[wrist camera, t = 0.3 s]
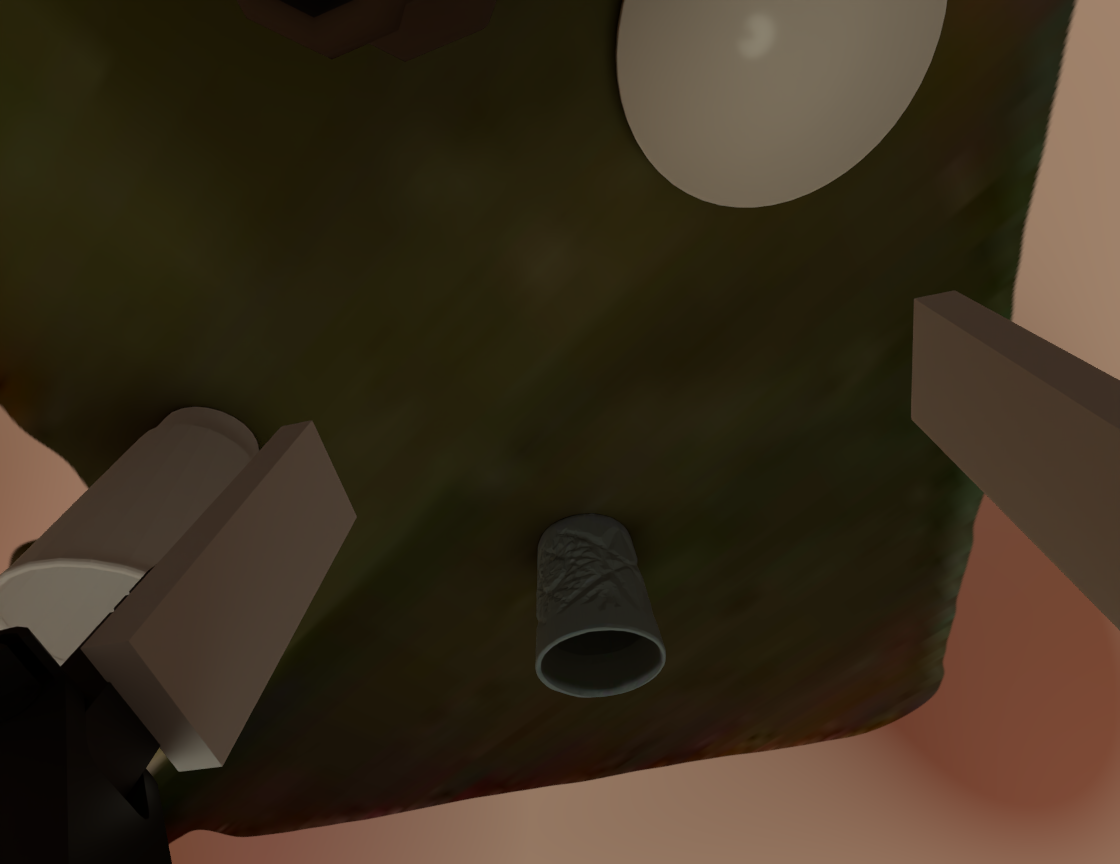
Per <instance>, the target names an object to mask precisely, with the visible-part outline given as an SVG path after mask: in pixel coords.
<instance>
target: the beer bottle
mask: <svg viewBox="0 0 1120 864" xmlns="http://www.w3.org/2000/svg"><path fill="white" fill-rule="evenodd" d="M496 1H497V0H237V2H238V3H239V5H240V7H241V9H242V11H243V12H244V14H245V16H246V18H248V19H250V20H252V21H254V22H256V23H258V24H260V25H262V26H264V27H266V28H268V29H270V30H272V31H274V32H277V33H279V34H281V35H283V36H285V37H287V38H289V39H291V40H293V41H295V42H297V43H299V44H301V45H303V46H305V47H307V48H310V49H312V50H314V51H316V52H318V53H320V54H322V55H324V56H326V57H328V58H330V59H333V58H336V57H338V56H340V55H343V54H345V53H347V52H350V51H352V50H354V49H357V48H359V47H361V46H364V45H366V44H368V43H369V44H371V45H373V46H375V47H377V48H379V49H381V50H383V51H385V52H387V53H389V54H391V55H393V56H395V57H397V58H399V59H401V60H403V61H405V62H406V61H408V60H410V59H413V58H415V57H418V56H420V55H422V54H425V53H427V52H430V51H432V50H434V49H437V48H439V47H441V46H444V45H446V44H449V43H451V42H453V41H456V40H458V39H460V38H463V37H465V36H468V35H470V34H472V33H475V32H477V31H479V30H482V29H484V28H485V27H486V26H487V25H488V23H489V21H490V18H491V15H492V12H493V9H494V7H495V4H496Z"/></svg>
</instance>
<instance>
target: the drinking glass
mask: <svg viewBox="0 0 1120 864" xmlns="http://www.w3.org/2000/svg"><path fill="white" fill-rule="evenodd" d="M537 569H538V574H537V614H536V616H537V618H538V621H539V623H538V626H537V630H536V631H537V639H536V664H535V668H536V673H537V675H538V677H539V679H540V680H541V681H542V682H543V683H544V684H545V685H546V686H548V687H549V688H551V689H553V690H555V691H559V692H562V693H565V694H568V695H572V696H577V697H603V696H610V695H617V694H620V693H624V692H627V691H630V690H633V689H635V688H638V687H640V686H642V685H644V684H645V683H647V682H649V681H650V680H651V679H653V678H654V677H655V676H656V675H657V674H658V673H659V672H660V671H661V669H662V667H663V666H664V664H665V658H666V652H665V647H664V644H663V641H662V638H661V635H660V632H659V629H658V626H657V623H656V621H655V618H654V616H653V613H652V609H651V604H650V601H649V598H648V594H647V591H646V588H645V585H644V580H643V578H642V575H641V573H640V571H639V569H638V567H637V556H636V553H635V550H634V547H633V543H632V540H631V537H630V535H629V533H628V531H627V529H626V528H625V527H624V526H623V525H622V524H621V523H620V522H618V521H616V520H615V519H613V518H611V517H607V516H603V515H596V514H594V513H593V514H582V515H575V516H571V517H567V518H564V519H563V520H560V521H558V522H557V523H554V524H553V525H551V526H550V527H549V528H547V529H546V531H545V532H544V533H543V535H542V536H541V539H540V541H539V545H538V556H537Z"/></svg>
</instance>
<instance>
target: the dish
mask: <svg viewBox="0 0 1120 864" xmlns="http://www.w3.org/2000/svg"><path fill="white" fill-rule="evenodd" d="M946 4H947V0H622V3H621V9H620V14H619V20H618V25H617V35H616V50H615V58H616V77H617V83H618V89H619V95H620V100H621V103H622V106H623V110H624V113H625V117H626V119H627V121H628V124H629V126H630V128H631V130H632V133H633V135H634V137H635V139H636V141H637V143H638V144H639V146H640V148H641V149H642V151H643V152H644V154H645V156H646V157H647V159H648V160H649V161H650V162H651V163H652V164H653V166H654V167H655V168H656V169H657V170H658V172H659V173H661V174H662V175H663V176H664V177H665V178H666V179H667V180H669V181H670V182H671V183H672V184H673V185H675V186H676V187H678V188H680V189H681V190H683V191H684V192H686V193H688V194H690V195H692V196H694V197H696V198H699V199H701V200H703V201H707V202H710V203H714V204H717V205H723V206H730V207H761V206H769V205H775V204H779V203H782V202H786V201H790V200H793V199H796V198H798V197H801V196H804V195H806V194H809V193H811V192H813V191H815V190H817V189H819V188H821V187H823V186H825V185H827V184H828V183H830V182H831V181H833V180H835V179H836V178H838V177H839V176H841V175H842V174H844V173H845V172H847V171H848V170H849V169H850V168H852V167H853V166H854V165H855V164H857V163H858V162H859V161H860V160H862V159H863V158H864V157H865V156H866V155H867V154H868V153H869V152H870V151H871V150H872V149H873V148H874V147H875V146H876V145H877V144H878V143H879V142H880V141H881V140H882V139H883V138H884V136H885V135H886V134H887V133H888V132H889V131H890V129H891V128H892V127H893V126H894V125H895V123H896V122H897V121H898V119H899V118H900V116H901V115H902V113H903V112H904V111H905V109H906V108H907V106H908V105H909V103H910V101H911V100H912V98H913V96H914V95H915V93H916V91H917V89H918V88H919V86H920V84H921V82H922V80H923V78H924V76H925V73H926V71H927V69H928V67H929V65H930V63H931V60H932V57H933V54H934V52H935V49H936V46H937V43H938V40H939V37H940V33H941V29H942V25H943V20H944V16H945V12H946Z"/></svg>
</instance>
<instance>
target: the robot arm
mask: <svg viewBox="0 0 1120 864" xmlns="http://www.w3.org/2000/svg"><path fill="white" fill-rule="evenodd" d="M911 419H912V420H913V421H914V422H915V423H916V424H917V425H918V426H919V427H920V428H921V429H922V430H923V431H924V432H925V433H926V434H927V435H928V436H929V437H930V438H931V439H932V440H933V441H934V442H935V443H936V444H937V445H938V446H939V447H940V448H941V449H942V451H943V452H944V453H945V454H946V455H947V456H948V457H949V458H950V459H951V460H952V461H953V462H954V463H955V464H956V465H957V466H958V467H959V468H960V469H961V470H962V471H963V472H964V473H965V474H966V475H967V476H968V477H969V478H970V479H971V480H972V481H973V482H974V483H975V484H976V485H977V486H978V487H979V488H980V489H981V490H982V491H983V492H984V493H985V494H986V495H987V496H988V497H989V498H990V499H991V500H992V501H993V502H994V503H995V504H996V505H997V506H998V507H999V508H1000V509H1001V510H1002V511H1003V512H1004V513H1005V514H1006V515H1007V516H1008V517H1009V518H1010V519H1011V520H1012V521H1013V522H1014V523H1015V525H1017V527H1018V528H1019V529H1020V530H1021V531H1023V533H1024V534H1025V535H1026V536H1027V537H1028V538H1029V539H1030V540H1031V541H1032V542H1033V543H1034V544H1035V545H1036V546H1037V547H1038V548H1039V549H1040V550H1041V551H1042V552H1043V553H1044V554H1045V555H1046V556H1047V557H1048V558H1049V559H1050V560H1051V561H1052V562H1053V563H1054V564H1055V565H1056V566H1057V567H1058V568H1059V569H1060V570H1061V571H1062V572H1063V573H1064V574H1065V575H1066V576H1067V577H1068V578H1069V579H1070V580H1071V581H1072V582H1073V583H1074V584H1075V585H1076V586H1077V587H1078V588H1079V589H1080V590H1081V591H1082V593H1084V595H1085V596H1087V598H1088V599H1089V600H1090V601H1091V602H1092V603H1093V604H1094V605H1095V606H1096V607H1097V608H1098V609H1099V610H1101V612H1102V613H1103V614H1104V615H1105V616H1106V617H1107V618H1108V619H1109V620H1110V621H1111V622H1112V623H1113V624H1114V625H1115V626H1116V627H1117V628H1118V629H1119V630H1120V380H1118V379H1116V378H1114V377H1112V376H1110V375H1109V374H1107V373H1105V372H1103V371H1101V370H1099V369H1098V368H1096V367H1094V366H1092V365H1090V364H1088V363H1087V362H1085V361H1083V360H1081V359H1079V358H1077V357H1076V356H1074V355H1072V354H1070V353H1068V352H1066V351H1065V350H1063V349H1061V348H1059V347H1057V346H1055V345H1054V344H1052V343H1050V342H1048V341H1046V340H1044V339H1042V338H1041V337H1039V336H1037V335H1035V334H1033V333H1032V332H1030V331H1028V330H1026V329H1024V328H1022V327H1021V326H1019V325H1017V324H1015V323H1013V322H1011V321H1010V320H1008V319H1006V318H1004V317H1002V316H1000V315H999V314H997V313H995V312H993V311H991V310H989V309H988V308H986V307H984V306H982V305H980V304H979V303H977V302H975V301H973V300H971V299H969V298H968V297H966V296H964V295H962V294H960V293H958V292H957V291H950V292H945V293H940V294H935V295H930V296H925V297H920V298H915V299H914V324H913V363H912V402H911ZM356 517H357V516H356V514H355V512H354V510H353V508H352V506H351V503H350V501H349V499H348V497H347V495H346V493H345V490H344V488H343V486H342V484H341V482H340V480H339V477H338V475H337V473H336V471H335V469H334V467H333V465H332V462H331V460H330V458H329V456H328V454H327V452H326V449H325V447H324V445H323V443H322V441H321V439H320V436H319V434H318V432H317V430H316V428H315V426H314V424H313V421H312V420H311V421H306V422H301V423H296V424H291V425H286V426H282V427H281V428H280V429H279V430H278V431H277V432H276V433H275V434H274V435H273V436H272V438H271V439H270V440H269V441H268V442H267V443H266V444H265V445H264V446H263V447H262V449H261V450H260V451H259V452H258V453H257V454H256V455H255V456H254V457H253V458H252V460H251V461H250V462H249V463H248V464H247V465H246V466H245V467H244V468H243V470H242V471H241V472H240V473H239V474H238V475H237V476H236V477H235V478H234V479H233V481H232V482H231V483H230V484H229V485H228V486H227V487H226V488H225V489H224V490H223V492H222V493H221V494H220V495H219V496H218V497H217V498H216V499H215V500H214V501H213V503H212V504H211V505H210V506H209V507H208V508H207V509H206V510H205V511H204V513H203V514H202V515H201V516H200V517H199V518H198V519H197V520H196V521H195V522H194V524H193V525H192V526H191V527H190V528H189V529H188V530H187V531H186V532H185V533H184V535H183V536H182V537H181V538H180V539H179V540H178V541H177V542H176V543H175V544H174V546H173V547H172V548H171V549H170V550H169V551H168V552H167V553H166V554H165V556H164V557H163V558H162V559H161V560H160V561H159V562H158V563H157V564H156V565H155V566H154V567H152V568H151V569H150V570H148V571H147V572H146V573H145V574H144V576H143V577H142V578H141V579H140V580H139V581H138V582H137V583H136V584H135V585H134V586H133V588H132V589H131V590H130V591H129V595H125V596H124V597H123V599H122V600H121V601H120V602H119V603H118V604H117V605H116V606H115V607H114V612H110V613H109V614H108V615H107V616H106V617H105V618H104V619H103V620H102V622H101V623H100V624H99V625H98V626H97V627H96V628H95V629H94V630H93V631H92V632H91V634H90V635H89V636H88V637H87V638H86V639H85V640H84V641H83V642H82V643H81V645H80V646H79V647H78V648H77V649H76V650H75V651H74V652H73V653H72V654H71V655H70V657H69V658H68V659H67V660H66V661H65V662H64V663H63V664H62V665H61V666H60V665H59V664H58V663H57V662H56V660H55V659H54V658H53V657H52V656H51V654H50V653H49V652H48V651H47V650H46V648H45V647H44V646H43V645H42V644H41V643H40V641H39V640H38V639H37V638H36V637H35V635H34V634H33V633H32V632H31V631H30V629H29V628H28V627H19V626H16V627H12V628H8V629H4V630H0V864H172V862H171V856H170V851H169V845H168V839H167V834H166V828H165V823H164V817H163V812H162V806H161V801H160V795H159V790H158V784H157V783H156V781H155V779H154V778H153V776H152V775H151V774H150V773H149V772H148V770H147V769H146V767H147V766H148V764H149V762H150V761H151V759H152V758H153V756H154V755H155V753H156V752H157V750H158V749H159V747H160V749H161V750H162V751H163V752H164V754H165V755H166V756H167V757H168V759H169V760H170V761H171V762H172V764H173V765H174V766H175V767H176V769H177V770H178V771H179V772H180V771H188V770H196V769H204V768H213V767H221V766H223V764H224V762H225V760H226V759H227V757H228V755H229V753H230V751H231V749H232V747H233V746H234V744H235V742H236V740H237V738H238V736H239V734H240V733H241V731H242V729H243V727H244V725H245V723H246V721H247V720H248V718H249V716H250V714H251V712H252V710H253V708H254V707H255V705H256V703H257V701H258V699H259V697H260V695H261V694H262V692H263V690H264V688H265V686H266V684H267V682H268V681H269V679H270V677H271V675H272V673H273V671H274V669H275V668H276V666H277V664H278V662H279V660H280V658H281V657H282V655H283V653H284V651H285V649H286V647H287V645H288V644H289V642H290V640H291V638H292V636H293V634H294V632H295V631H296V629H297V627H298V625H299V623H300V621H301V619H302V618H303V616H304V614H305V612H306V610H307V608H308V606H309V605H310V603H311V601H312V599H313V597H314V595H315V593H316V592H317V590H318V588H319V586H320V584H321V582H322V580H323V579H324V577H325V575H326V573H327V571H328V569H329V567H330V566H331V564H332V562H333V560H334V558H335V556H336V554H337V553H338V551H339V549H340V547H341V545H342V543H343V541H344V540H345V538H346V536H347V534H348V532H349V530H350V528H351V527H352V525H353V523H354V521H355V519H356Z"/></svg>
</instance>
